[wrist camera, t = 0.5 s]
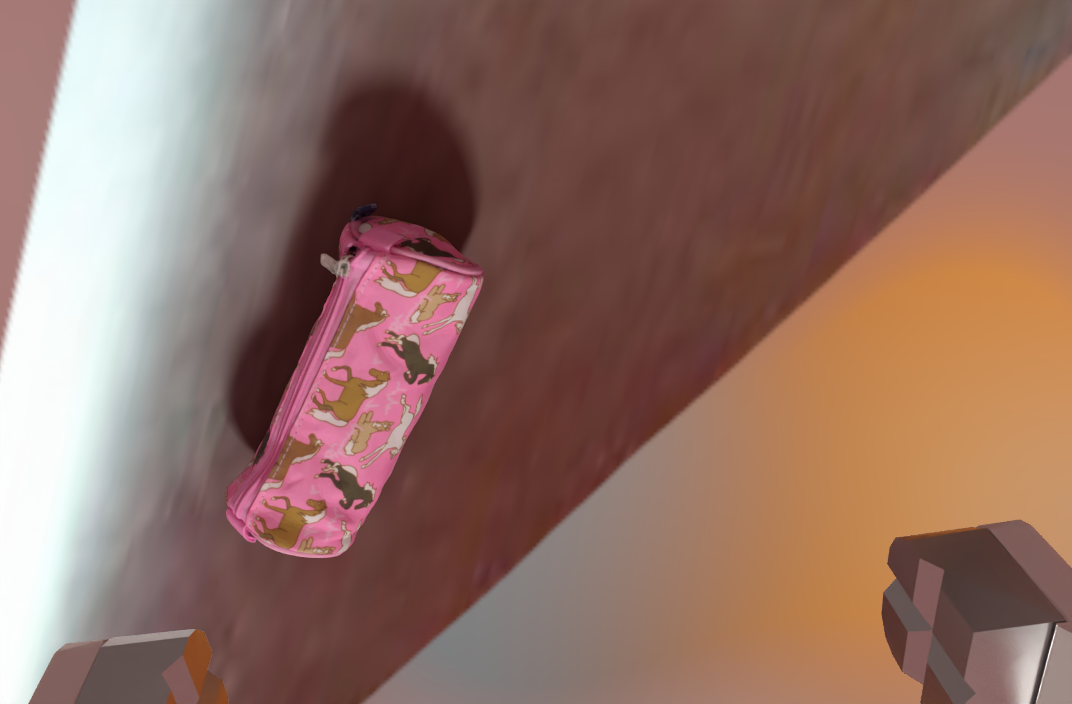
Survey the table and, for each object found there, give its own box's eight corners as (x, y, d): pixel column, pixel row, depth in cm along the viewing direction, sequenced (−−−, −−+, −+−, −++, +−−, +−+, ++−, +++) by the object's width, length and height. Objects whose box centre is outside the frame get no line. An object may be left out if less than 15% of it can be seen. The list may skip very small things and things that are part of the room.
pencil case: (350, 184, 54) (337, 213, 45) (488, 245, 56) (499, 283, 48) (231, 475, 59) (199, 548, 51) (361, 519, 61) (351, 596, 53)
